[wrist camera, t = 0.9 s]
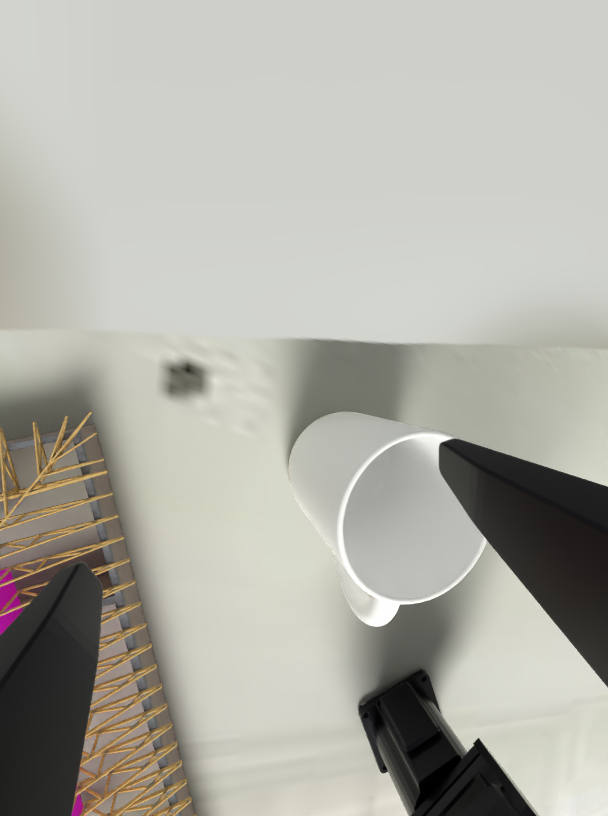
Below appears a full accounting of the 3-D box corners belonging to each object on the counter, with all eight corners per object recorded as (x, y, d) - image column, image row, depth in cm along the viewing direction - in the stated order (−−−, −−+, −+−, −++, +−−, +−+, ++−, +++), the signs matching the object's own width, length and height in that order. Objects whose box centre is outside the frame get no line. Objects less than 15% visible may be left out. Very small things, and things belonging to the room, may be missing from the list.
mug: (376, 564, 28) (472, 670, 18) (274, 569, 25) (318, 692, 15) (395, 414, 27) (505, 436, 17) (291, 405, 25) (349, 423, 15)
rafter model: (-190, 460, 18) (-378, 500, 12) (108, 406, 22) (72, 417, 16) (1, 967, 23) (-70, 1171, 17) (220, 854, 27) (225, 990, 21)
